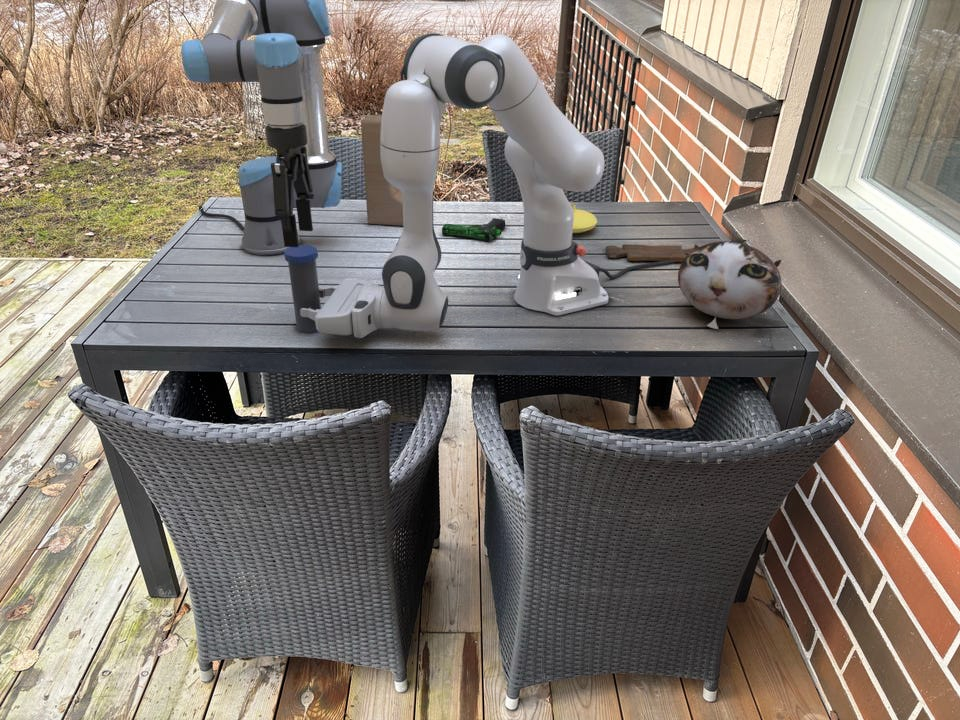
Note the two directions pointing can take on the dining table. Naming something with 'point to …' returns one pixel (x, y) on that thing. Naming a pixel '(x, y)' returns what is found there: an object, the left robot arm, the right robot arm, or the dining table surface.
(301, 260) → the lid
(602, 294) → the right robot arm
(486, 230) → the handgun
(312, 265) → the jar
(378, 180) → the decorative block
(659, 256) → the brown notched plank
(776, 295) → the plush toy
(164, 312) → the dining table surface
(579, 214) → the yellow thick rounded disc
